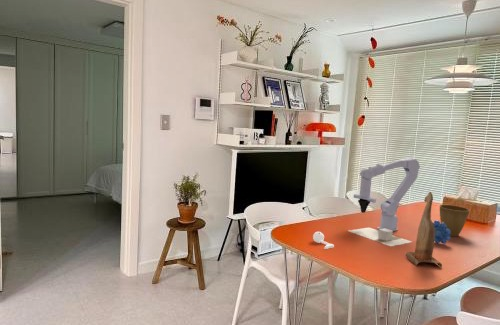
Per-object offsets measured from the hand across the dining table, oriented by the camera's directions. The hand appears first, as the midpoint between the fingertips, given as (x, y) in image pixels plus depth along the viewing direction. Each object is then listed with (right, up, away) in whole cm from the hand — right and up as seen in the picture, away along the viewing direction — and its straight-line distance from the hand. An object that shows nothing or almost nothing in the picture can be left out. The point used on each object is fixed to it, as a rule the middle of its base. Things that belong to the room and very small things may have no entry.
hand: (363, 212), depth 205 cm
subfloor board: (+4, -11, -14) cm, 18 cm away
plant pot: (+50, -13, -2) cm, 52 cm away
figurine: (-31, -11, -33) cm, 47 cm away
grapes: (+32, -14, -21) cm, 41 cm away
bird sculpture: (+10, -15, -50) cm, 53 cm away
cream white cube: (+5, -12, -19) cm, 23 cm away
